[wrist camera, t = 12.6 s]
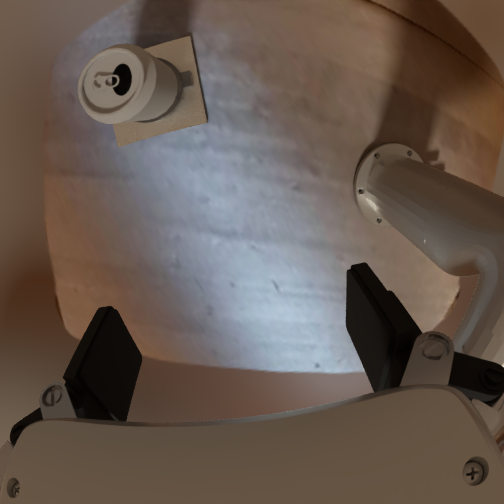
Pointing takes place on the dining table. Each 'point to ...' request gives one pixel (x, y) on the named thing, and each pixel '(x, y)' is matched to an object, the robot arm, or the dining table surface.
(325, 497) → the robot arm
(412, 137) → the dining table surface
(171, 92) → the can
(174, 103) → the white flat square plate
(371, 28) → the dining table surface
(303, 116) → the dining table surface
